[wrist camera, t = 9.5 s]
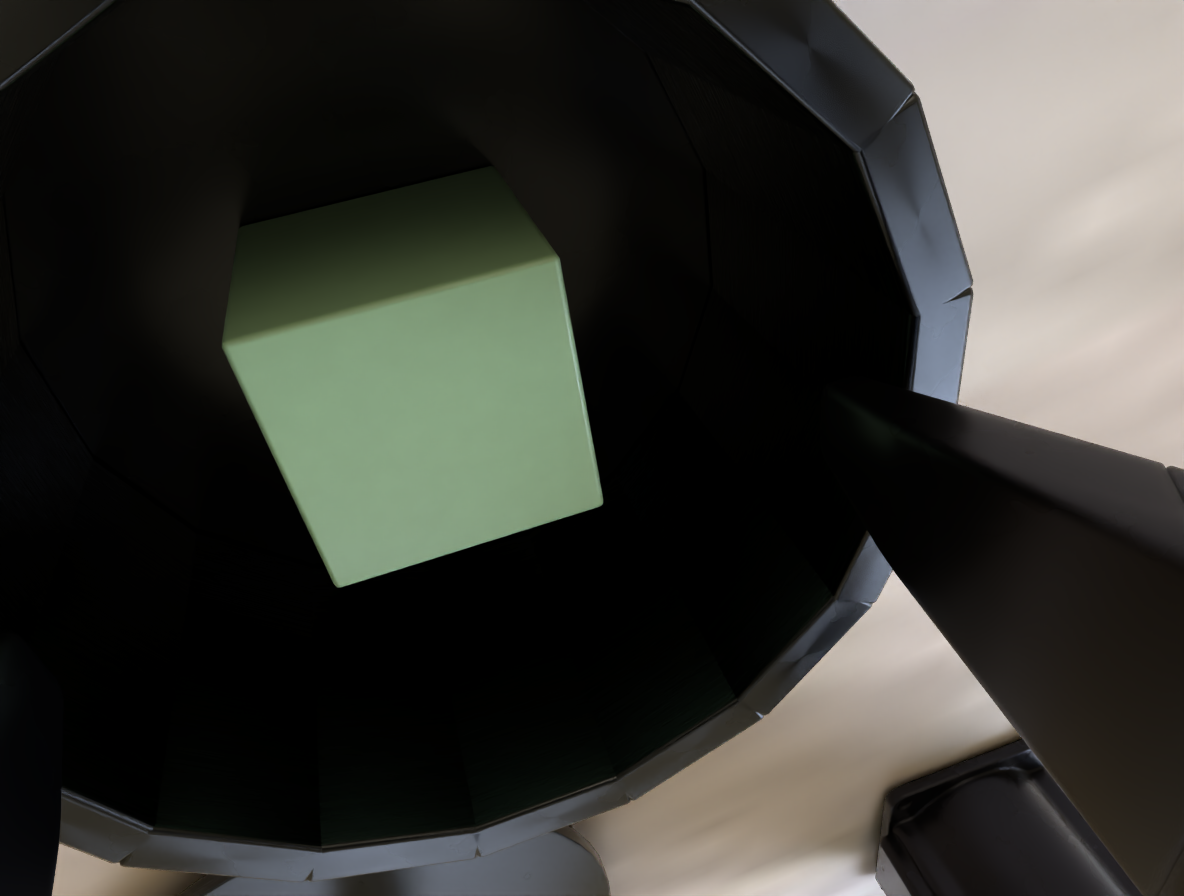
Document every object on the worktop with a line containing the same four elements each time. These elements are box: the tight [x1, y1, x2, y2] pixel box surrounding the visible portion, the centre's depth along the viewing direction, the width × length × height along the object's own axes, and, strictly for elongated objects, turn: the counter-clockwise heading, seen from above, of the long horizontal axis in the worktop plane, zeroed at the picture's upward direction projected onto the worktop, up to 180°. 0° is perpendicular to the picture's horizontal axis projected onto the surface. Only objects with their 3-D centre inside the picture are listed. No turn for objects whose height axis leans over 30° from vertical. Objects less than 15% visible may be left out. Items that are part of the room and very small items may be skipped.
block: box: [222, 166, 603, 587], centre depth 12 cm, size 4×4×4 cm
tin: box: [0, 0, 973, 883], centre depth 12 cm, size 13×13×6 cm
